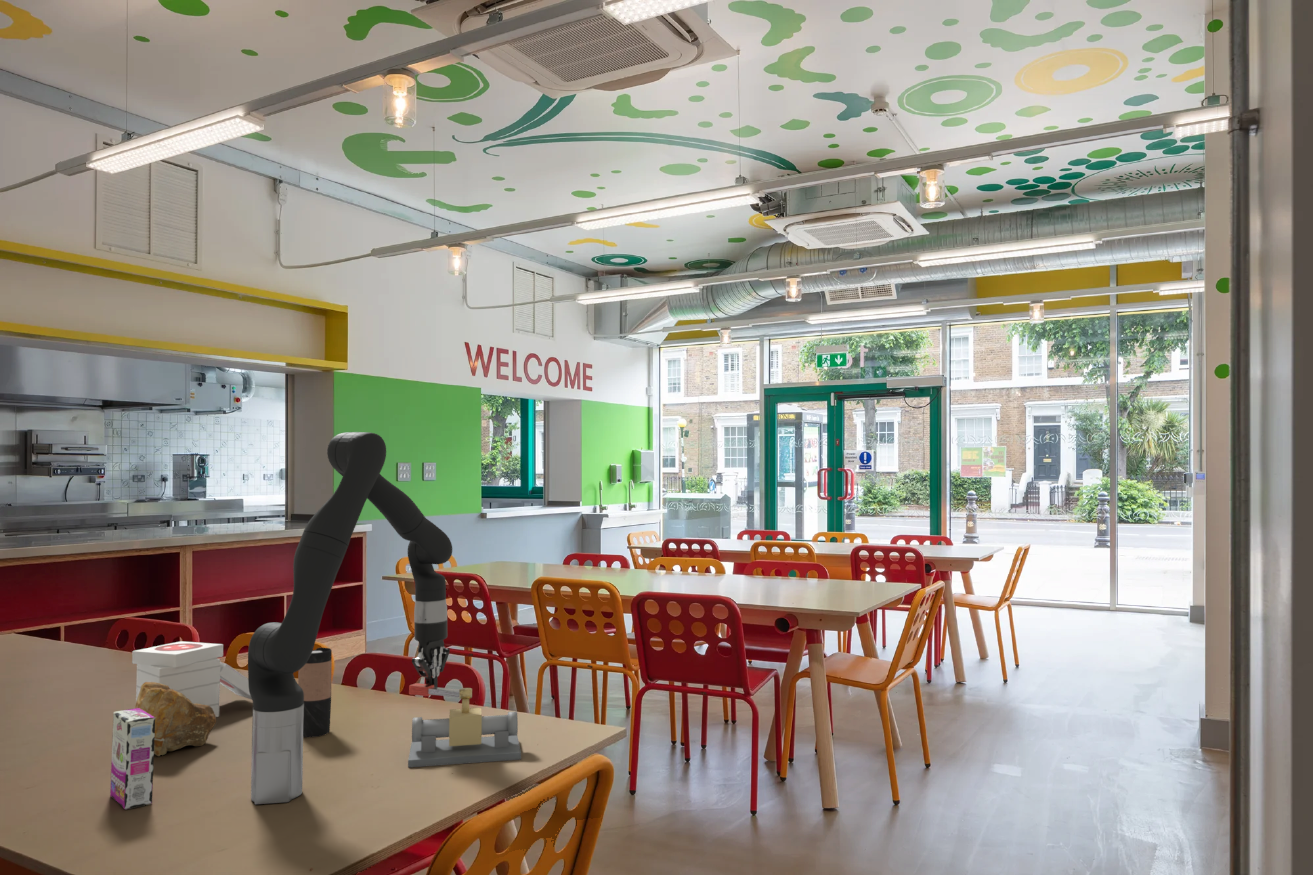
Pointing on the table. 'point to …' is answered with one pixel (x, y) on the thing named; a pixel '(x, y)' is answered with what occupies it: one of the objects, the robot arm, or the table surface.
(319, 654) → the travel mug
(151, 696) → the rough brown rock
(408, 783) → the table surface
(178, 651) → the pizza boxes
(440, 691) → the lever
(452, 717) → the valve stand
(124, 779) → the candy bar box
